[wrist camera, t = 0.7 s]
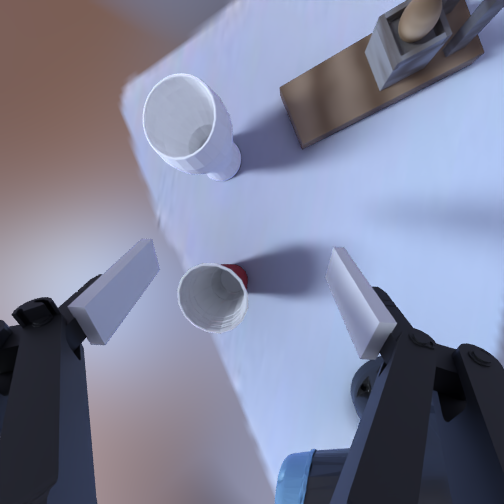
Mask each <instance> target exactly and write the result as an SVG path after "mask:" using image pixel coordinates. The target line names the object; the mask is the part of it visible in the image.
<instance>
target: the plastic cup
mask: <svg viewBox="0 0 504 504" xmlns="http://www.w3.org/2000/svg"><path fill="white" fill-rule="evenodd" d="M247 284H248V277H247V275H246V272H245V271H244V270H243V269H242V268H241V267H240V266H237V265H232V264H221V265H220V264H216V263H202V264H199V265H197V266H194V267H192V268H190V269H189V270H188V271H187V272H186V273H185V274H184V276H182V277H181V280H180V283H179V286H178V289H177V296H178V304H179V307H180V308H181V310H182V313H183V315H184V317H186V318H187V319H188V321H189V322H190V323H191V324H192V325H193V326H195V327H197V328H199V329H201V330H203V331H205V332H209V333H220V334H221V333H224V332H227V331H230V330H233V329H234V328H235V327H237V326H238V325H239V324H240V323H241V322H242V321H243V320H244V317H245V315H246V312H247V310H248V293H247Z"/></svg>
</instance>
